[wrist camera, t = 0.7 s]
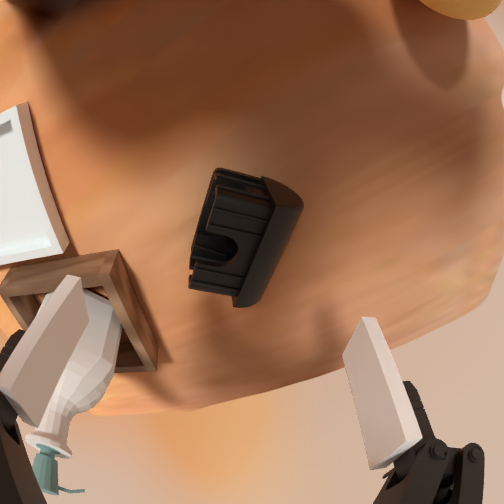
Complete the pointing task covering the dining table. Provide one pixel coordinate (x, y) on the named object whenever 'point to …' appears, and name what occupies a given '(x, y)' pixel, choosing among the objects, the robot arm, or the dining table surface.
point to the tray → (25, 194)
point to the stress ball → (463, 8)
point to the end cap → (241, 235)
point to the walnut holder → (92, 275)
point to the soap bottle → (76, 388)
